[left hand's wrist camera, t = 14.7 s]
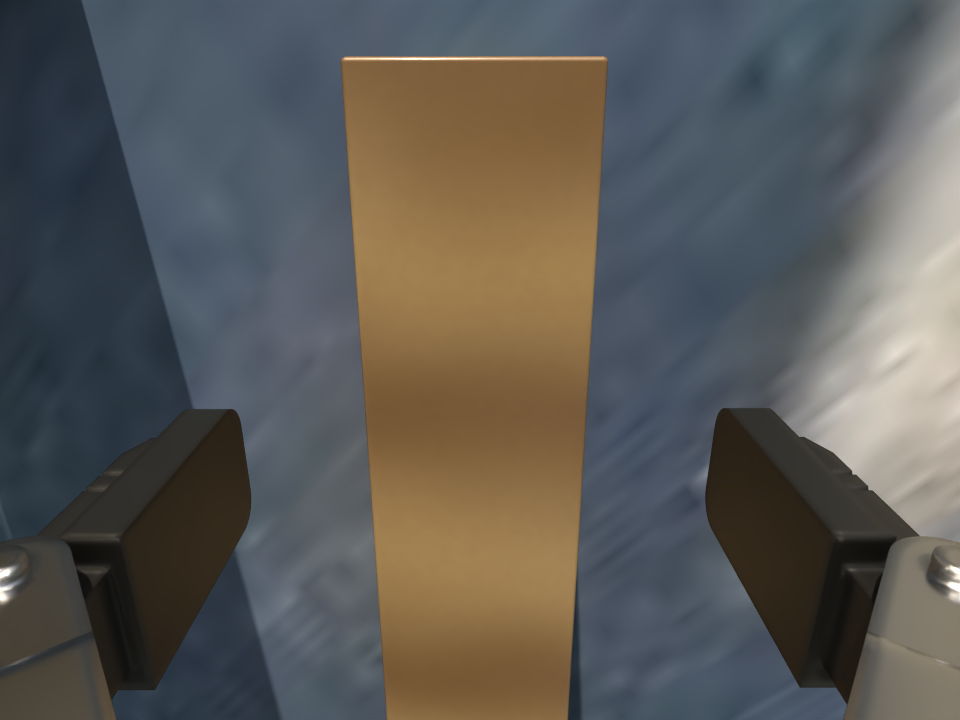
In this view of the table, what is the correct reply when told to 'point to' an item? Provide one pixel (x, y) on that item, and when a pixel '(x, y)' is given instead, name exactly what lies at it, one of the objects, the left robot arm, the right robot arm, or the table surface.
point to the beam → (475, 366)
